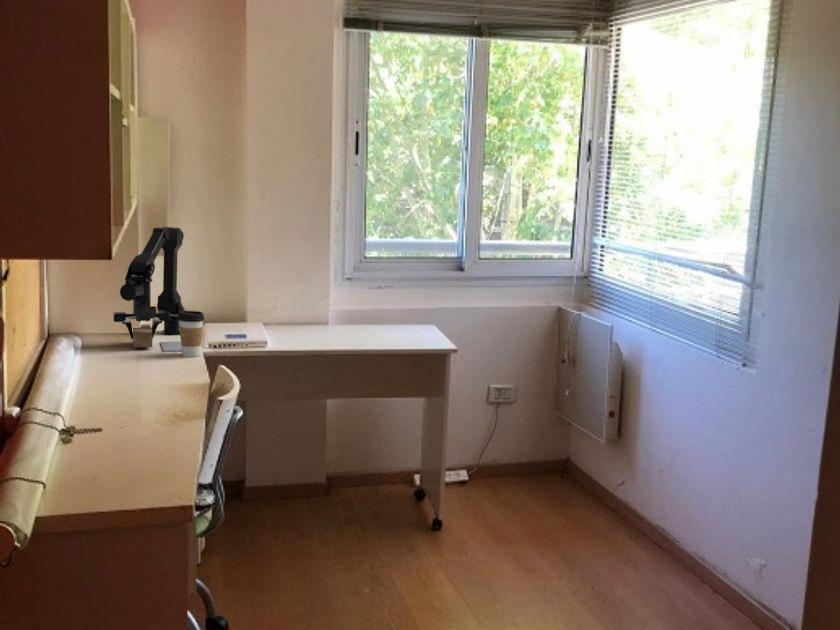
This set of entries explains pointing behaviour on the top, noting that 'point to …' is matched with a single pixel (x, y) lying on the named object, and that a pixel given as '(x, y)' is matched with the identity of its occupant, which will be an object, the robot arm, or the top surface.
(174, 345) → the felt mat
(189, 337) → the coffee cup
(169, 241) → the robot arm
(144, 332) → the walnut cover
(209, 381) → the top surface
